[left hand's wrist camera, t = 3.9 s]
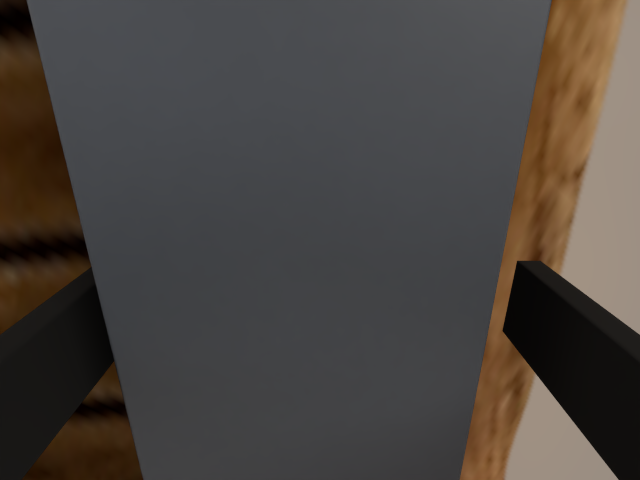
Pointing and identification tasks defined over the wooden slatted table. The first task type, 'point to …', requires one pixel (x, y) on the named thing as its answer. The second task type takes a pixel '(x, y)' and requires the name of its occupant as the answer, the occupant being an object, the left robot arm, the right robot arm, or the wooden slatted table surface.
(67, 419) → the left robot arm
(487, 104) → the long dark gray bar
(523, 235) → the wooden slatted table surface
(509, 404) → the wooden slatted table surface
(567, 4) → the wooden slatted table surface
